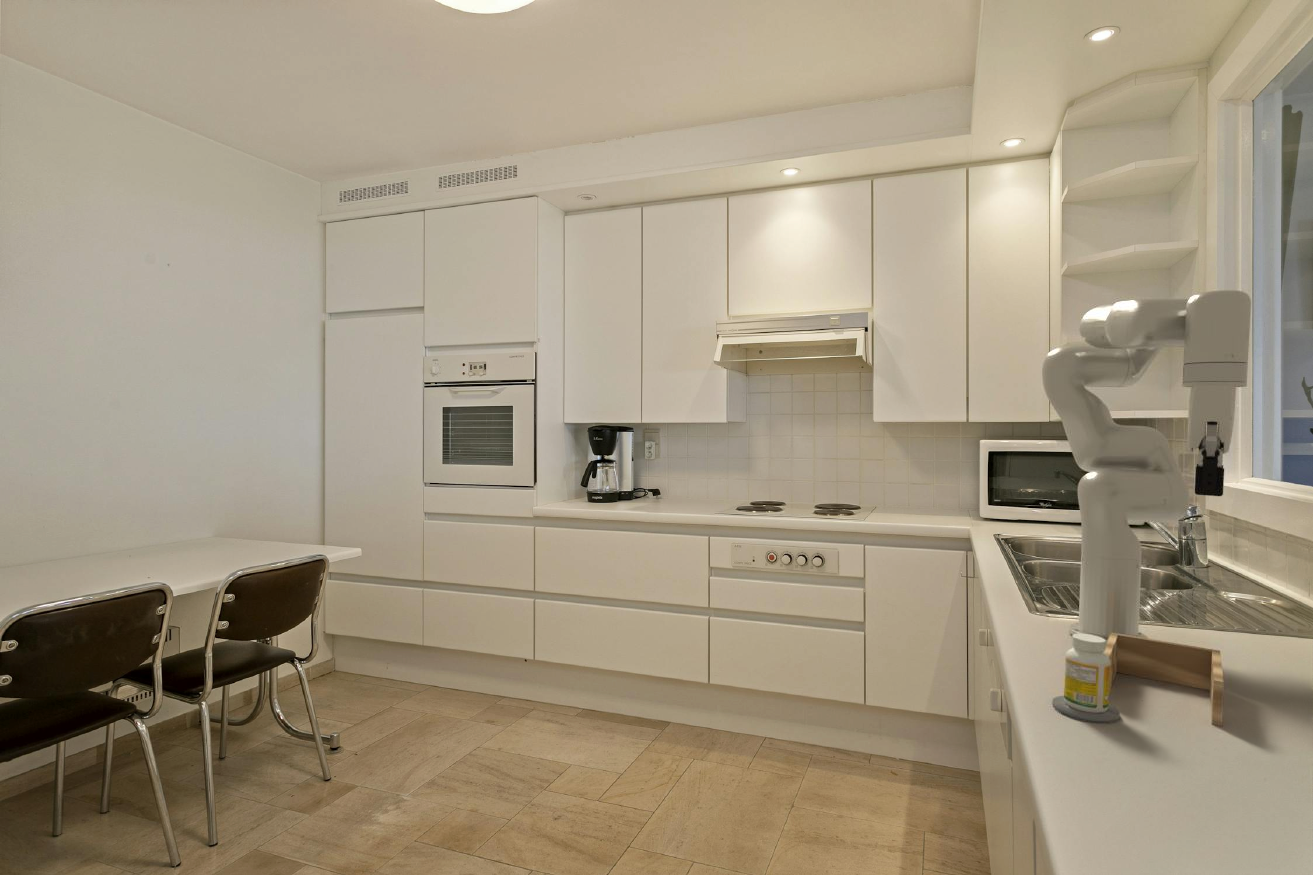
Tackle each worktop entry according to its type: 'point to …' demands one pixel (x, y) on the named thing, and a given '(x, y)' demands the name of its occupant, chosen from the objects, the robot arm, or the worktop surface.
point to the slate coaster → (1104, 717)
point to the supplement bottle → (1087, 674)
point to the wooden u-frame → (1168, 665)
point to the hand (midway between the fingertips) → (1208, 492)
